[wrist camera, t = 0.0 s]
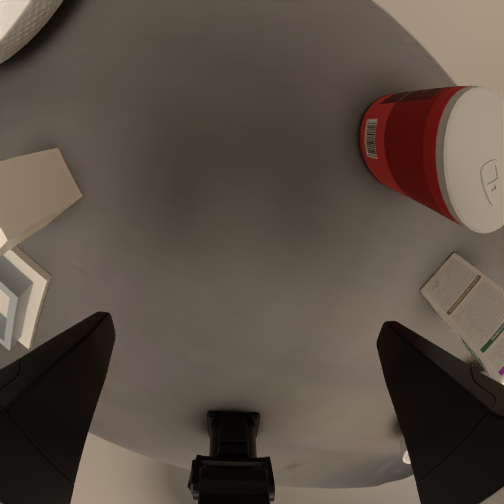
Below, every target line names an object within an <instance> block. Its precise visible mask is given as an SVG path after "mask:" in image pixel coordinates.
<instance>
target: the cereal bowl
mask: <svg viewBox="0 0 504 504" xmlns="http://www.w3.org/2000/svg"><path fill="white" fill-rule="evenodd" d="M62 2H63V0H0V64H1V63H2V62H4V61H5V60H7V59H9V58H10V57H11V56H13V55H14V54H15V53H16V52H18V51H19V50H20V49H21V48H22V47H23V46H25V45H26V44H27V43H28V42H29V41H30V40H31V39H32V38H33V37H34V36H35V35H36V34H37V33H38V32H39V31H40V30H41V29H42V27H43V26H44V25H45V24H46V23H47V22H48V21H49V19H50V18H51V17H52V16H53V14H54V13H55V12H56V10H57V8H58V7H59V6H60V5H61V3H62Z"/></svg>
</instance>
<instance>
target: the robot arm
mask: <svg viewBox="0 0 504 504" xmlns="http://www.w3.org/2000/svg"><path fill="white" fill-rule="evenodd" d="M114 342H115V329H114V325H113V321H112V317H111V315H110V313H108V312H101V311H99V312H96V313H95V314H93V315H91V316H89V317H88V318H86V319H84V320H83V321H81V322H79V323H77V324H76V325H74V326H72V327H71V328H69V329H67V330H65V331H64V332H62V333H60V334H59V335H57V336H55V337H54V338H52V339H50V340H49V341H47V342H45V343H44V344H42V345H40V346H39V347H37V348H35V349H34V350H32V351H30V352H29V353H27V354H25V355H24V356H22V358H19V359H17V360H16V361H14V362H12V363H11V364H9V365H7V366H5V367H4V368H2V369H0V504H70V502H71V498H72V493H73V488H74V483H75V479H76V475H77V471H78V467H79V462H80V459H81V455H82V451H83V448H84V444H85V441H86V437H87V434H88V431H89V427H90V424H91V421H92V417H93V414H94V411H95V408H96V405H97V402H98V399H99V396H100V393H101V390H102V387H103V384H104V381H105V378H106V375H107V371H108V366H109V362H110V358H111V354H112V350H113V346H114ZM377 349H378V353H379V357H380V361H381V365H382V370H383V374H384V378H385V382H386V385H387V388H388V391H389V394H390V397H391V400H392V403H393V406H394V409H395V412H396V415H397V418H398V421H399V424H400V428H401V431H402V434H403V437H404V441H405V444H406V448H407V451H408V455H409V458H410V462H411V465H412V469H413V473H414V477H415V481H416V485H417V490H418V493H419V497H420V502H421V504H504V385H503V384H501V383H499V382H497V381H495V380H494V379H492V378H490V377H488V376H486V375H485V374H483V373H481V372H480V371H478V370H476V369H475V368H473V367H471V366H469V365H468V364H466V363H465V362H463V361H461V360H460V359H458V358H457V357H455V356H453V355H452V354H450V353H448V352H447V351H445V350H443V349H442V348H440V347H438V346H437V345H435V344H433V343H432V342H430V341H428V340H427V339H425V338H423V337H422V336H420V335H418V334H417V333H415V332H413V331H412V330H410V329H408V328H407V327H405V326H403V325H402V324H400V323H398V322H397V321H386V322H384V324H383V326H382V328H381V331H380V334H379V336H378V339H377ZM259 419H260V415H259V413H232V412H208V413H207V420H208V432H209V437H210V454H209V456H201V455H197V457H196V459H195V460H192V469H191V474H190V478H189V482H188V489H189V490H190V491H191V492H192V495H193V499H194V500H197V501H198V504H270V502H273V501H274V497H275V484H274V477H273V471H272V466H271V460H270V457H262V458H257V455H256V437H257V431H258V425H259Z"/></svg>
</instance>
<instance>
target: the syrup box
mask: <svg viewBox="0 0 504 504" xmlns="http://www.w3.org/2000/svg"><path fill="white" fill-rule="evenodd" d="M420 292H421V293H422V295H423V296H424V297H425V299H426V300H427V302H428V303H429V304H430V305H431V307H432V308H433V309H434V310H435V312H436V313H437V314H438V315H439V316H440V317H441V319H442V320H443V321H444V322H445V323H446V324H447V325H448V326H449V328H450V329H451V330H452V331H453V332H454V333H455V335H456V336H457V337H458V338H459V339H460V341H461V342H462V343H463V344H464V345H465V347H466V348H467V349H468V350H469V351H470V353H471V354H472V355H473V356H474V357H475V359H476V360H477V361H478V362H479V363H480V365H481V366H482V367H483V368H484V370H485V371H486V372H487V373H488V375H489V376H490V377H491V378H492V379H494V380H495V381H497V382H499V383H501V384H503V385H504V289H503V288H502V287H500V286H499V285H498V284H497V283H495V282H494V281H493V280H491V279H490V278H489V277H488V276H486V275H485V274H483V273H482V272H481V271H479V270H478V269H477V268H476V267H474V266H473V265H472V264H470V263H469V262H467V261H466V260H465V259H463V258H462V257H460V256H459V255H458V254H456V253H453V254H452V255H451V256H450V257H449V258H448V259H447V260H446V261H445V263H444V264H443V265H442V266H441V267H440V268H439V269H438V270H437V272H436V273H435V274H434V275H433V276H432V277H431V278H430V279H429V281H428V282H427V283H426V284H425V285H424V286H423V287H422V288H421V289H420Z"/></svg>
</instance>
